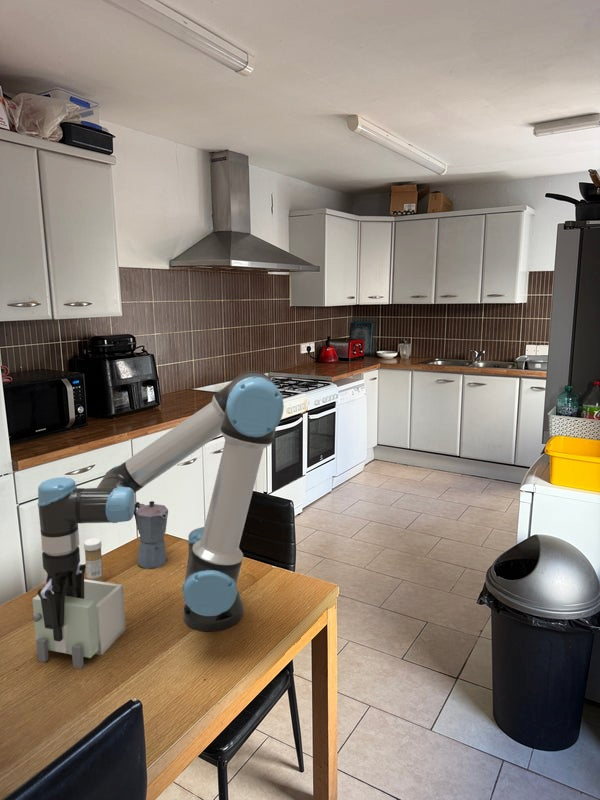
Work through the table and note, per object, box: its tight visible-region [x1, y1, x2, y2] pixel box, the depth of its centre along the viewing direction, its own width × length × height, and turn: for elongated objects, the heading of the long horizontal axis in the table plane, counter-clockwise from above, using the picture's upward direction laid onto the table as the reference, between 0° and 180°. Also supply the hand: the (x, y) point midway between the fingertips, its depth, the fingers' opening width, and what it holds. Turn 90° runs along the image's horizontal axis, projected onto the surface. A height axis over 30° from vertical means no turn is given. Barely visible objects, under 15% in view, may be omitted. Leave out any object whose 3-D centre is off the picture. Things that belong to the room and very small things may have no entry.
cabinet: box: [35, 578, 127, 670], centre depth 129 cm, size 14×15×12 cm
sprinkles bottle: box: [83, 537, 104, 582], centre depth 156 cm, size 5×5×14 cm
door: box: [31, 594, 99, 659], centre depth 124 cm, size 14×4×12 cm, turn 76°
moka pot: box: [133, 500, 169, 569], centre depth 169 cm, size 10×15×20 cm, turn 58°
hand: (67, 646), depth 125 cm, fingers closed on door, 3 cm apart
